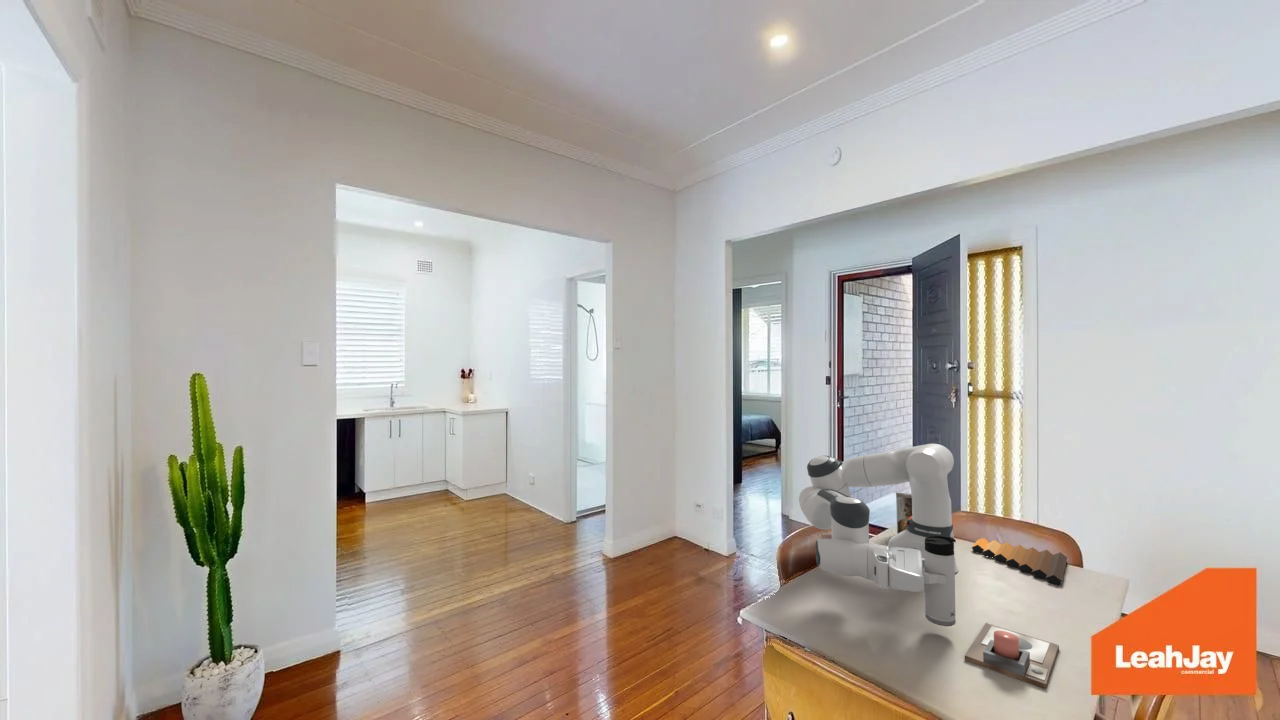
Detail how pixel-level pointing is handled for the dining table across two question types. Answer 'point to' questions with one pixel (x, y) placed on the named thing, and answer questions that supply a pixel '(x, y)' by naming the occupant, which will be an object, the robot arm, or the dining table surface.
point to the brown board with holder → (1029, 667)
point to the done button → (1006, 644)
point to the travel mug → (938, 594)
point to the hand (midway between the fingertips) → (944, 573)
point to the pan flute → (1025, 559)
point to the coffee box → (903, 510)
